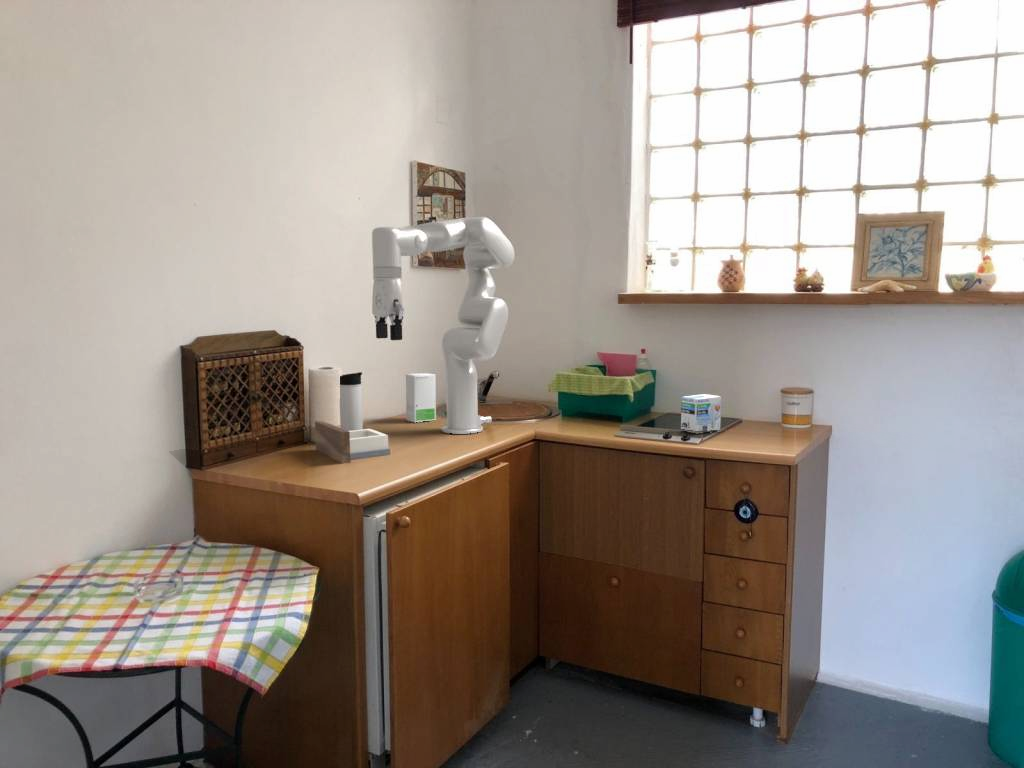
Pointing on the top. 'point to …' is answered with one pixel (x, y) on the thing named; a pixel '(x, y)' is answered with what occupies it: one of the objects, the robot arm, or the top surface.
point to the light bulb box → (701, 412)
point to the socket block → (368, 444)
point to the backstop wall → (332, 441)
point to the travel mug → (351, 402)
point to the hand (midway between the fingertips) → (389, 338)
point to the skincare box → (420, 397)
